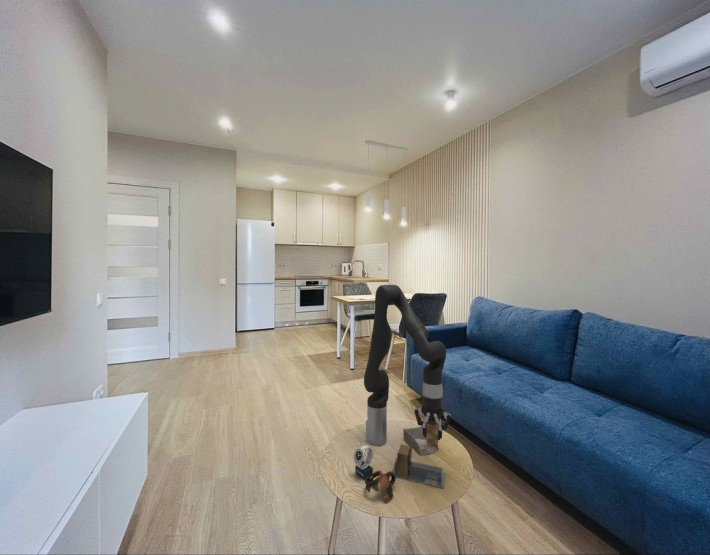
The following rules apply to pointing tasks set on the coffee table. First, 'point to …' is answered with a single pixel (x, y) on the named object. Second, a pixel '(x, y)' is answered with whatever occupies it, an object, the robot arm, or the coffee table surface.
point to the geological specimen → (418, 441)
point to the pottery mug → (381, 483)
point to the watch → (363, 467)
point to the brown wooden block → (431, 433)
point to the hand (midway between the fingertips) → (432, 437)
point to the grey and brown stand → (416, 469)
